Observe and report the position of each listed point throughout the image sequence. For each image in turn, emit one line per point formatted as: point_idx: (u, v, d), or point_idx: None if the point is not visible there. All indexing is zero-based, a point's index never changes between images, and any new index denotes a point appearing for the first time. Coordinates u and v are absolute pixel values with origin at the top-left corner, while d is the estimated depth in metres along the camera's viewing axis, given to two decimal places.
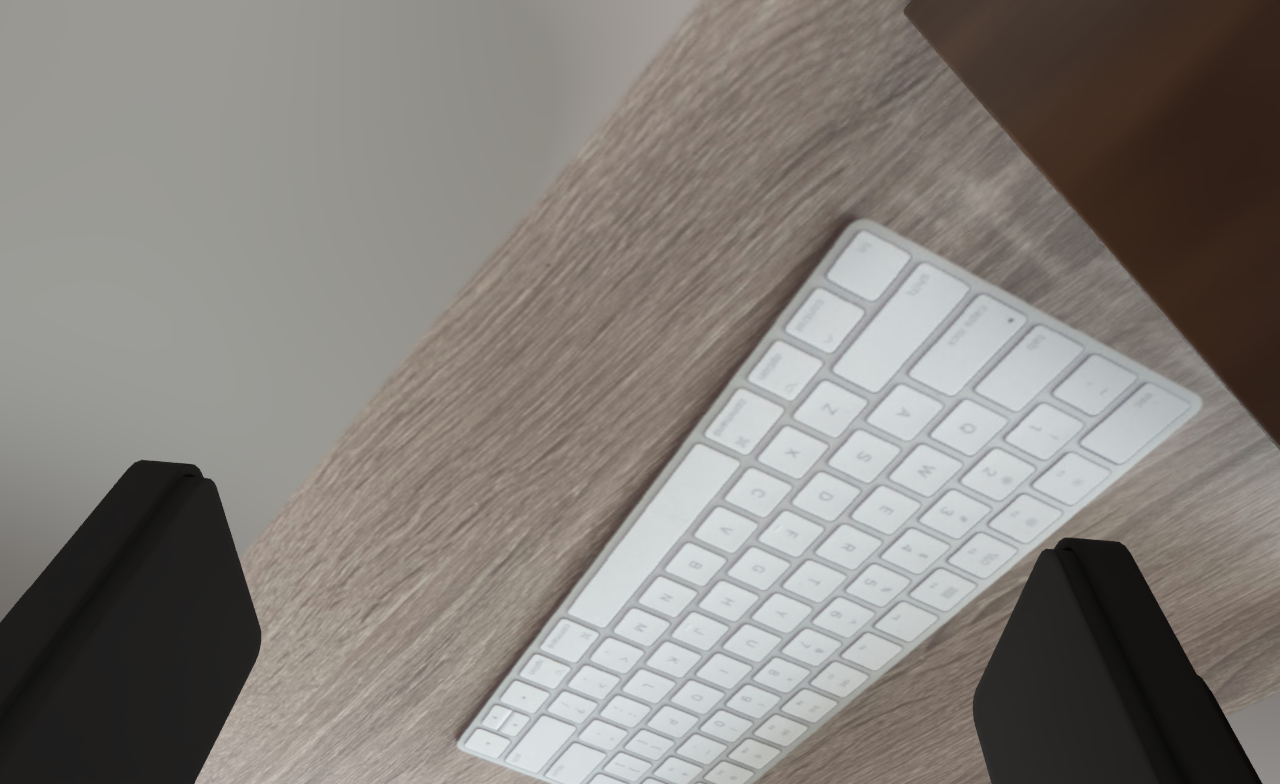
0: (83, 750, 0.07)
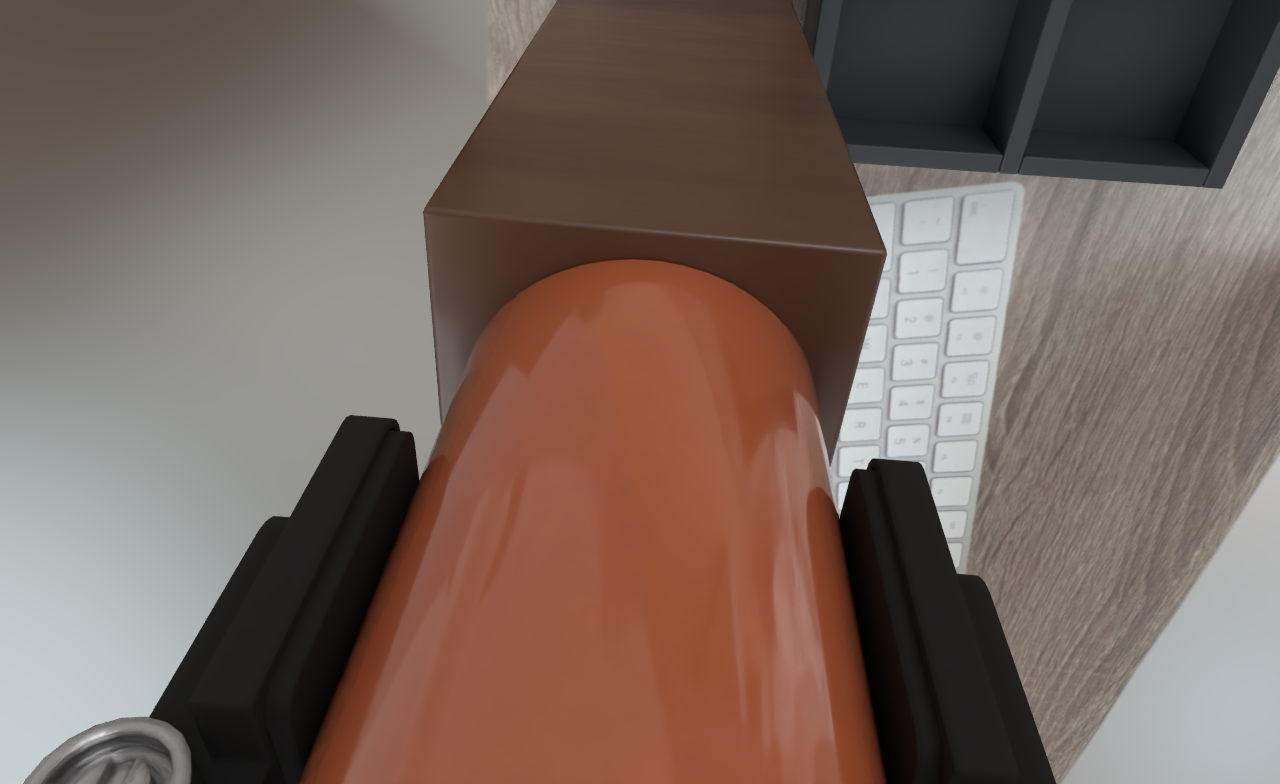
0: (341, 667, 0.08)
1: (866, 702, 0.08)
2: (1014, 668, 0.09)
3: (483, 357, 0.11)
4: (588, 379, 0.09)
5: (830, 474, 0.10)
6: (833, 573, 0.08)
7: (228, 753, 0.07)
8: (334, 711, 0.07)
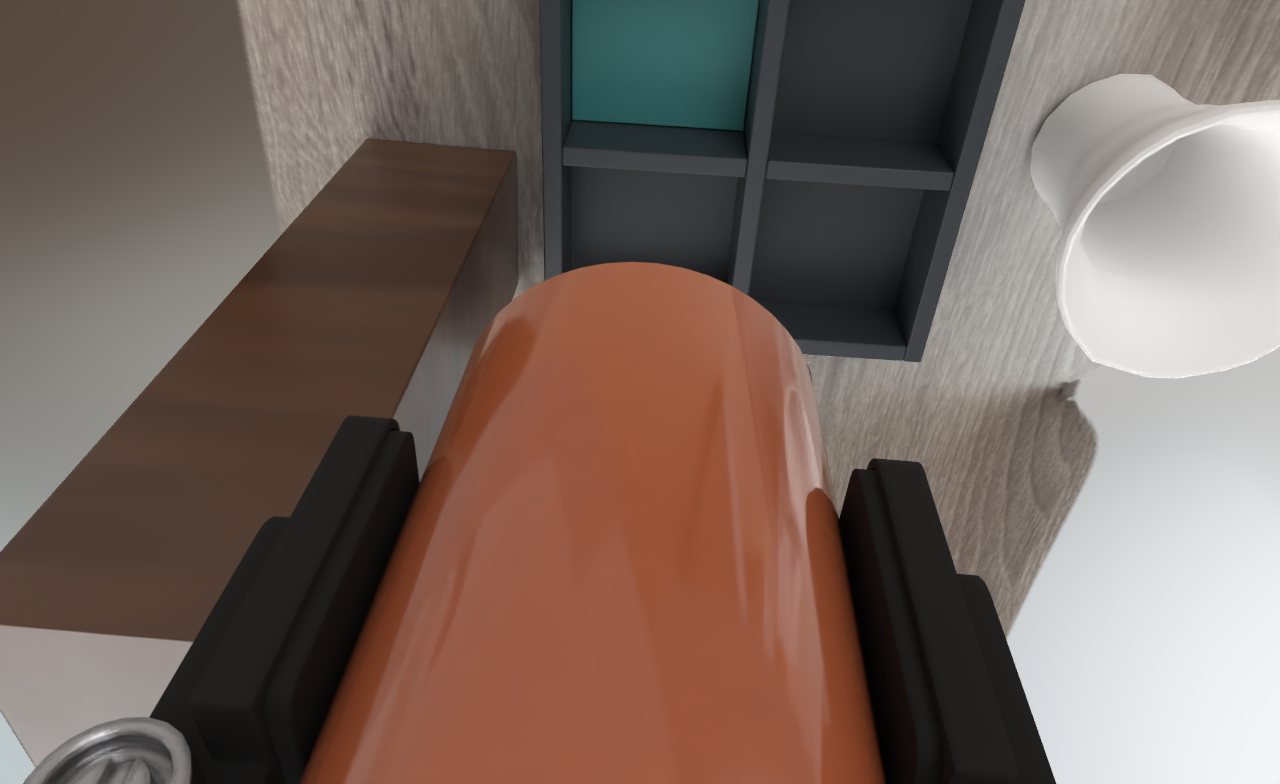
0: (341, 667, 0.08)
1: (866, 706, 0.07)
2: (1014, 668, 0.09)
3: (483, 360, 0.11)
4: (588, 382, 0.09)
5: (830, 477, 0.10)
6: (833, 578, 0.08)
7: (228, 753, 0.07)
8: (334, 715, 0.07)
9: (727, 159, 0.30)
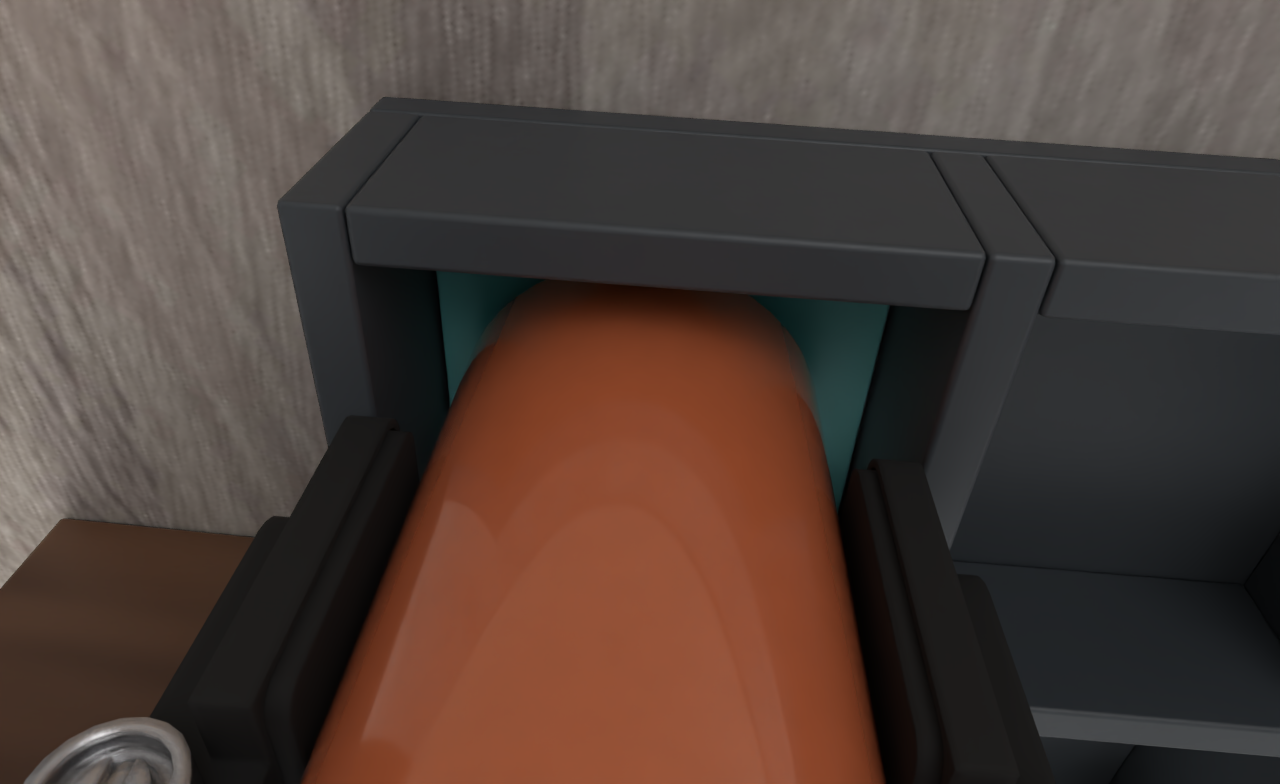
0: (341, 667, 0.08)
1: (865, 703, 0.08)
2: (1014, 668, 0.09)
3: (483, 359, 0.11)
4: (587, 381, 0.09)
5: (830, 476, 0.10)
6: (832, 575, 0.08)
7: (228, 753, 0.07)
8: (335, 712, 0.07)
9: None
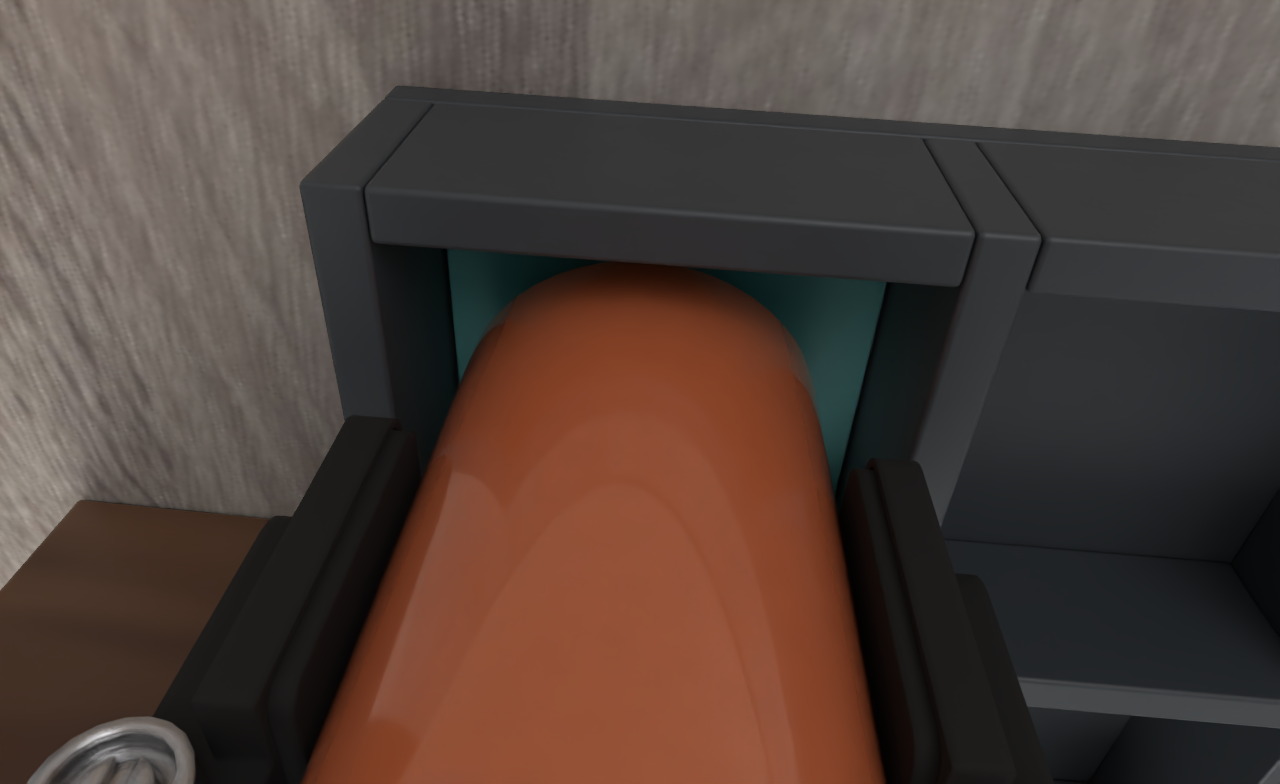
0: (343, 666, 0.08)
1: (866, 702, 0.08)
2: (1012, 667, 0.09)
3: (484, 358, 0.11)
4: (588, 381, 0.09)
5: (830, 475, 0.10)
6: (832, 575, 0.08)
7: (231, 753, 0.07)
8: (336, 711, 0.07)
9: None
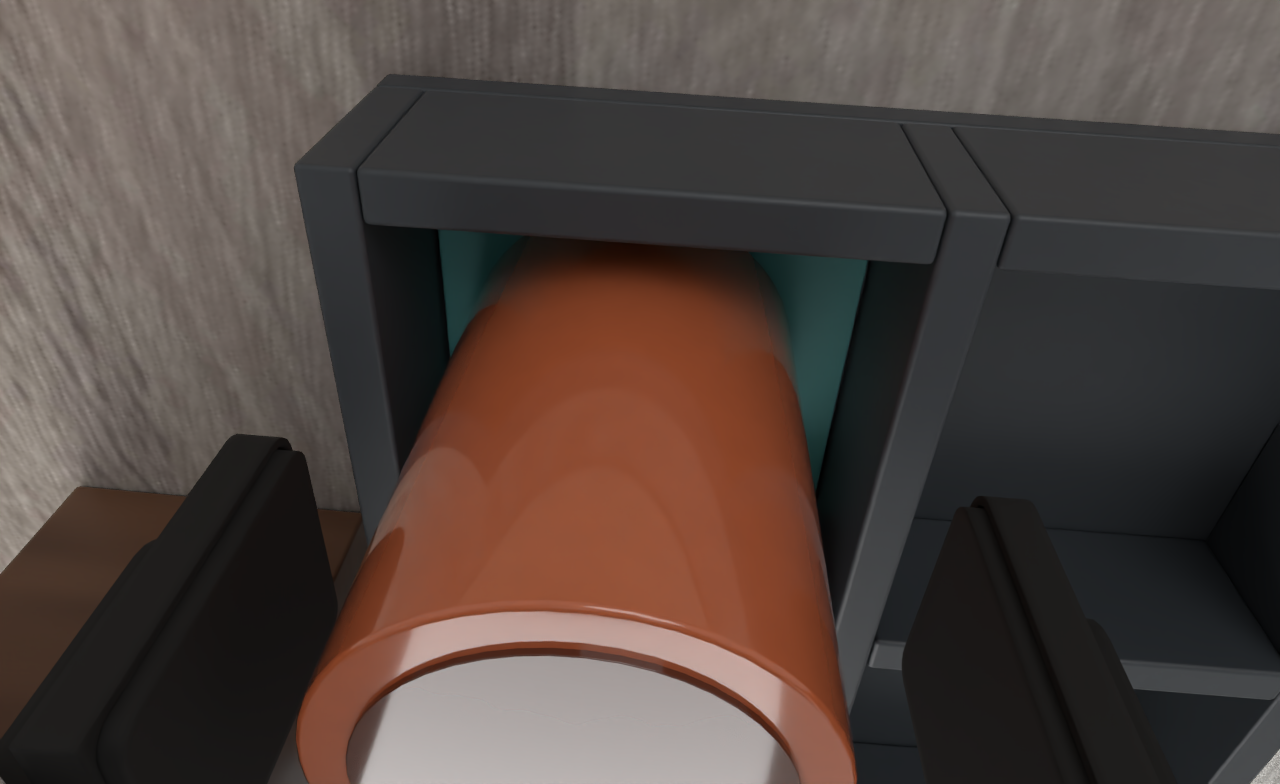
0: (202, 702, 0.08)
1: (817, 556, 0.09)
2: (1146, 722, 0.08)
3: (490, 290, 0.12)
4: (581, 297, 0.10)
5: (798, 390, 0.12)
6: (792, 457, 0.10)
7: None
8: (368, 556, 0.08)
9: None
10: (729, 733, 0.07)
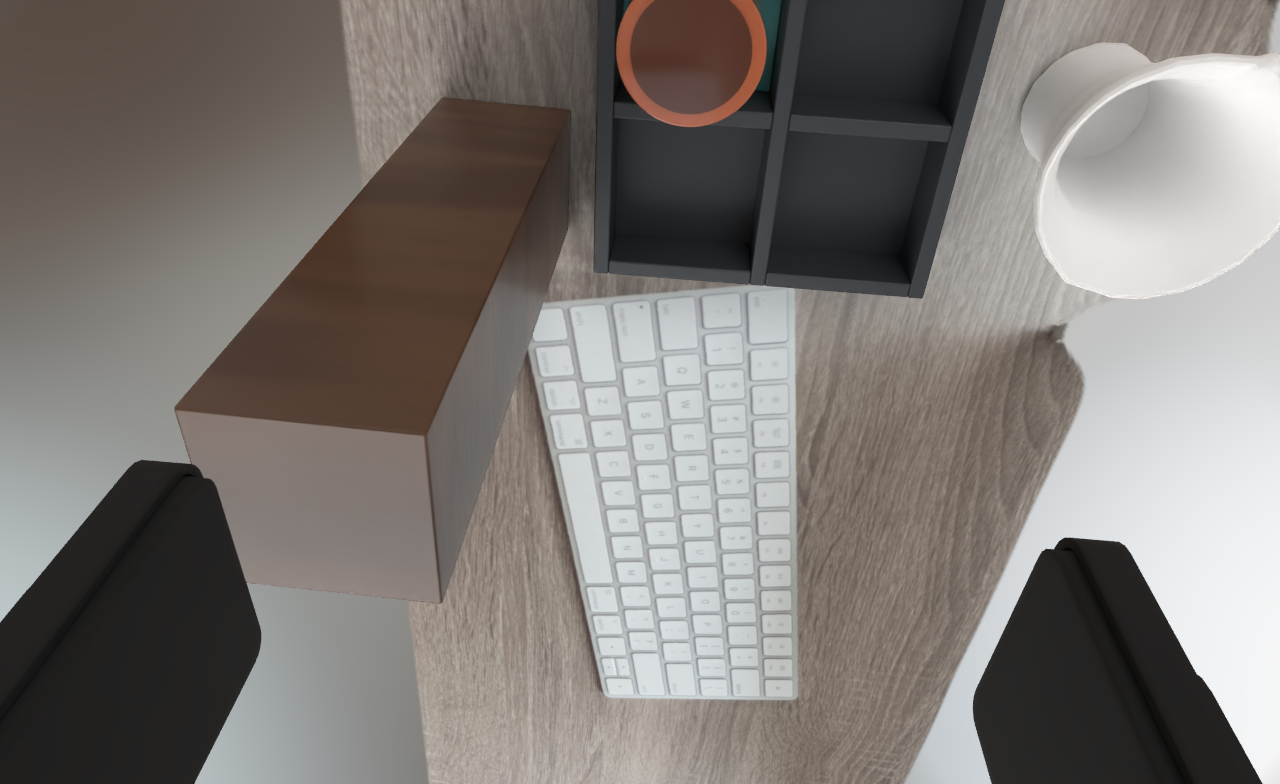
0: (83, 750, 0.07)
1: (759, 5, 0.30)
2: None
3: None
4: None
5: None
6: None
7: None
8: None
9: (755, 113, 0.35)
10: (733, 21, 0.29)
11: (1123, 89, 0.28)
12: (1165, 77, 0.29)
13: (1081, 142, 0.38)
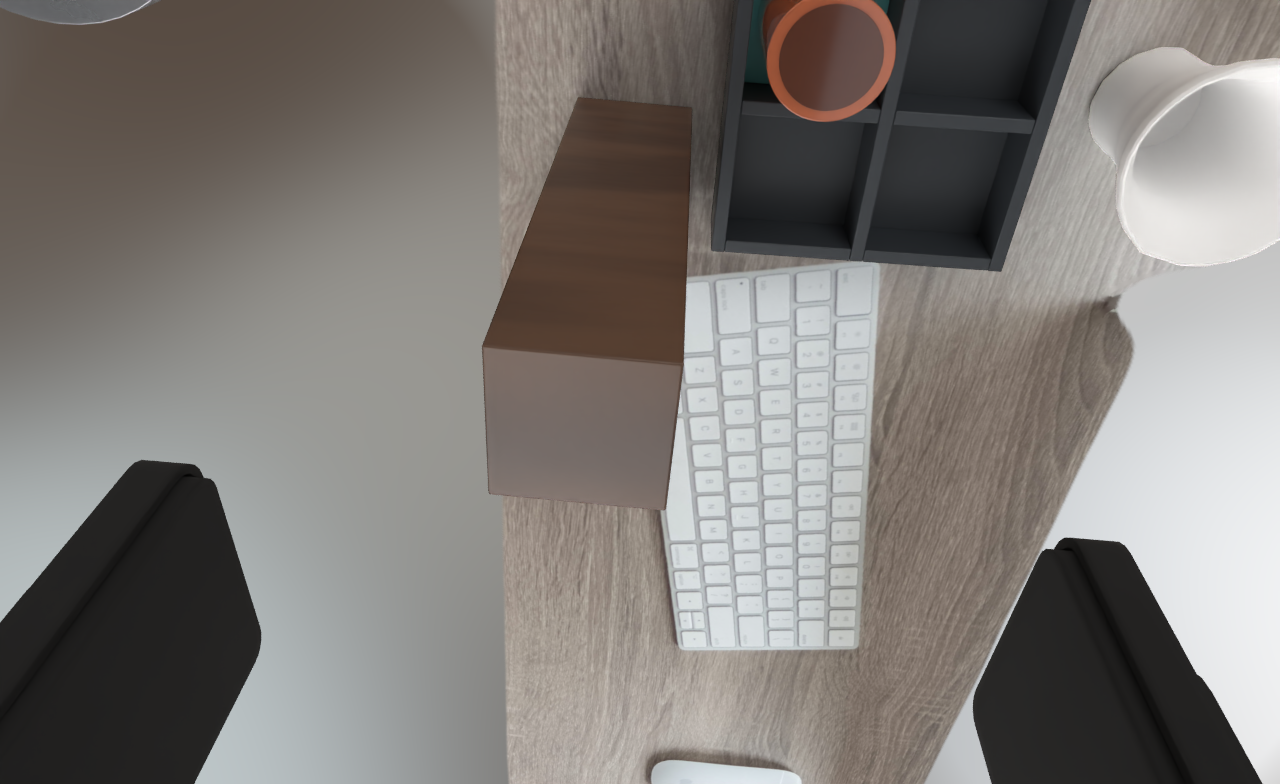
0: (83, 750, 0.07)
1: None
2: None
3: None
4: None
5: None
6: None
7: None
8: (779, 10, 0.35)
9: (865, 109, 0.41)
10: (869, 32, 0.34)
11: (1198, 88, 0.34)
12: (1229, 77, 0.35)
13: None
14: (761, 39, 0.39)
